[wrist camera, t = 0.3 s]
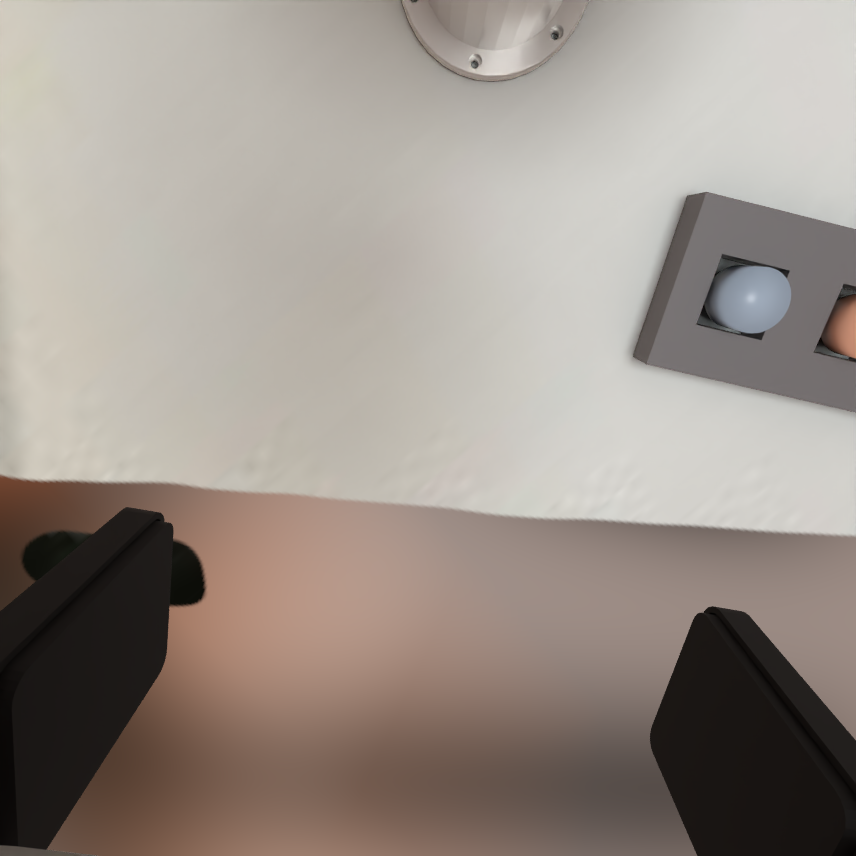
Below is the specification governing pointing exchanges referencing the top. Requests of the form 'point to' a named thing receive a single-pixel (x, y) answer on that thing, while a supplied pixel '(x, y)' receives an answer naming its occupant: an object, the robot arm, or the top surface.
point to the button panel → (769, 350)
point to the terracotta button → (842, 327)
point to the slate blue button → (748, 298)
